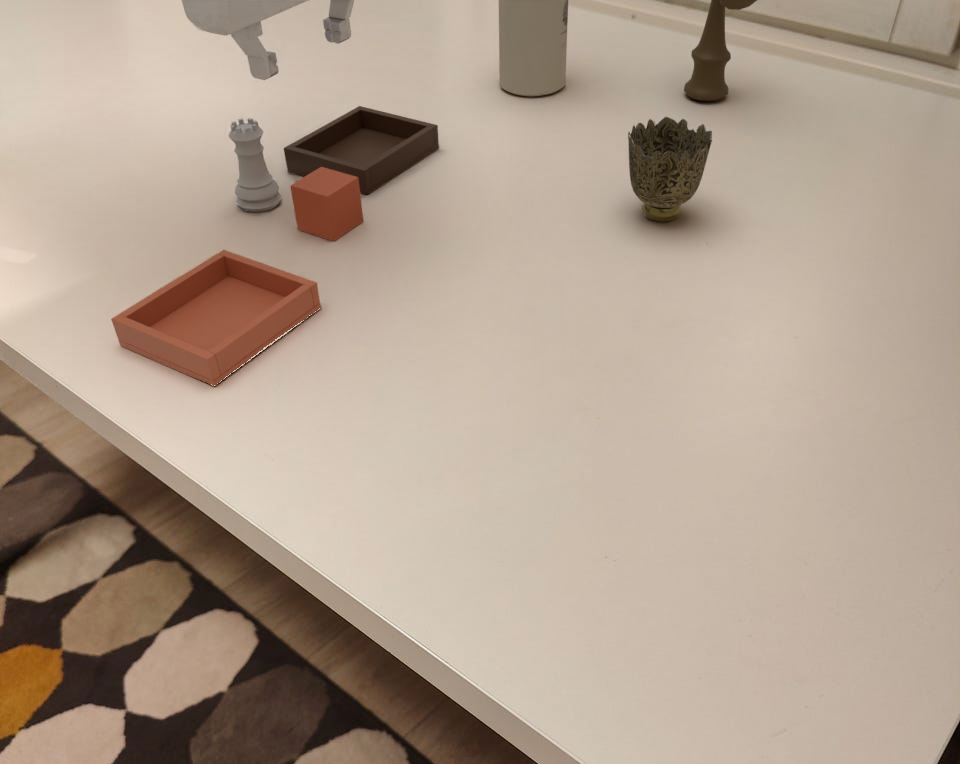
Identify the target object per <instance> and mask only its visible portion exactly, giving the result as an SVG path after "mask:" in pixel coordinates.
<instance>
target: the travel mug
mask: <svg viewBox="0 0 960 764" xmlns="http://www.w3.org/2000/svg"><path fill="white" fill-rule="evenodd" d="M568 17H569V0H498V58H499V59H498V68H499V69H498V73H499V77H498V78H499V79H498V81H499V86H500V88H501V89H503V90H505V91H506V92H508V93H510V94H513V95H515V96H521V97H530V98H531V97H532V98H533V97H543V96H548V95H551V94H554V93H556V92H557V91H559V90H561V89H563V88H564V86H566V81H567V80H566V79H567V78H566V77H567V48H568V47H567V46H568V24H569V23H568V22H569V21H568V19H569V18H568Z"/></svg>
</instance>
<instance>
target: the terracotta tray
mask: <svg viewBox="0 0 960 764" xmlns="http://www.w3.org/2000/svg"><path fill="white" fill-rule="evenodd" d="M319 308H321V309H322V305H321V300H320V293H319V288H318V283H317V281H314V280H311V279H309V278H305V277H303V276H300V275H297V274H294V273H291V272H289V271H286V270H283V269H280V268H277V267H274V266H272V265H268V264H265V263H263V262H260V261H257V260H255V259H252V258H249V257H246V256H243V255H240V254H237V253H235V252H231V251H229V250H226V249H222V250H221V251H219V252H218V253H215V254H214V255H211V256H210V257H209V258H207V259H206V260H204V261H202V262H201V263H199V264H198V265H196V266H195V267H193V268H191V269H190V270H188V271H187V272H185V273H183V274H181V275H180V276H178V277H176V278H175V279H173V280H172V281H170V282H168V283H167V284H165V285H164V286H162V287H160V288H158V289H157V290H156V291H154V292H152V293H151V294H148V296H146V297H144V298H142V299H141V300H139V301H138V302H136V303H135V304H133V305H131V306H129V307H128V308H126V309H125V310H123V311H121V312H120V313H118V314H117V315H115V316H113V317H112V318H111V319H110V320H111V322H112V325H113V328H114V331H115V334H116V338H117V340H118V343H119V346H120V347H122V348H125V349H127V350H129V351H132V352H134V353H136V354H138V355H141V356H143V357H145V358H147V359H150V360H152V361H154V362H156V363H159V364H162V365H163V366H166V367H168V368H171V369H173V370H175V371H177V372H179V371H180V373H181V374H184V375H186V376H189V377H191V378H193V377H194V378H193V379H195V378H197V379H196V380H198V379H199V380H198V381H200V380H202V381H204V382H203V383H205V382H207V383H209V384H212V385H213V386H212V387H214V385H217V383H219V382H220V381H221V380H223V379H224V378H225V377H226V376H228V375H229V374H230V373H232V372H233V371H234V370H236V369H237V368H239V367H240V366H241V365H242V364H244V363H246V362H247V361H248V360H249V359H251V357H253V356H254V355H256V354H257V353H258V352H259V351H261V350H263V348H264V347H266V346H267V345H269V344H270V343H272V342H273V341H275V339H277V338H278V337H280V336H281V335H283V334H284V333H285V332H287V331H288V330H290V329H291V328H293V327H294V326H295V325H297V324H298V323H300V322H301V321H303V320H305V319H306V318H307V317H309V315H311V314H313V313H314V312H315V311H317V310H318V309H319ZM202 381H201V382H202ZM207 383H206V384H207ZM209 384H208V385H209ZM217 386H218V385H217Z"/></svg>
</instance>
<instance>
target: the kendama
mask: <svg viewBox="0 0 960 764" xmlns="http://www.w3.org/2000/svg"><path fill="white" fill-rule="evenodd" d="M757 1H758V0H710V5H709V8H708V12H707V15H706V20H705V24H704V27H703V30H702V34H701V36H700V40H699V42H698V44H697V45H696V47H694V48H693V49H692V50H691V58H692V60H693V70H692V74H691V77H690V79H689V80H688V81H686V83H685V84H684V87H683V92H684V93H685V95H687V97H689V98H691V99H692V100H693V99H694V100H698V101H703V102H711V101H718V100H722V99H724V98H726V97H727V96H728V95H729V86H728V85H727V83H726V78H725V70H726V66H727V64H728V62H730V60H731V58H732V54H731V52H730V51H729V50H728V48H727V42H726V9H727V10H732V11H733V10H734V11H735V10H736V11H740V10H744V9H746V8H749V7H751V6H752V5H753V4H754V3H756V2H757Z"/></svg>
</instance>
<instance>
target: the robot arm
mask: <svg viewBox="0 0 960 764" xmlns="http://www.w3.org/2000/svg"><path fill="white" fill-rule="evenodd" d="M308 1H309V0H181V3H182V8H183V11H184V13H185V16H186V18H187V19H188V20H189V22H190V23H191V24H192V25H193V26H194V27H195V28H196V30H199V31H201V32H205V33H209V34H213V35H218V36H219V35H220V36H231V38H232V39H233V41H234V42H235V43H236V44H237V45H238V47H239V48H240V49H241V51H242V52H243V54H244V55H245V56H247V57H246V58H247V62H248V66H249V73H250V74H251V76H252V77H253V78H254V79H257V80H262V81H266V80H268V79H270V78H272V77H274V76H276V75H278V74H279V71H280V70H279V66H278V58H277V53H276V52H274V51H269V50H267V49H266V48H265V47H264V45H263V43H262V41H261V40H260V38H259V37H261V36H263V34H264V33H263V27H262V22H263V21H264V20H267V19H269V18H271V17H274V16H276V15H278V14H281V13H283V12H285V11H287V10H290V9H292V8H294V7H297V6H299V5H301V4H304V3H306V2H308ZM354 3H355V0H330V1H329V8H328V9H329V10H328V17H326V18H324V19H323V20H322V23H323V29H324V37H325V39H326V41H327V42H329V43H335V44H338V45H339V44H341V43H343V42H345V41H347V40H350V39H351V38H352V29H351V20H350V18H351V15H352V12H353V9H354V8H353V7H354Z"/></svg>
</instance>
